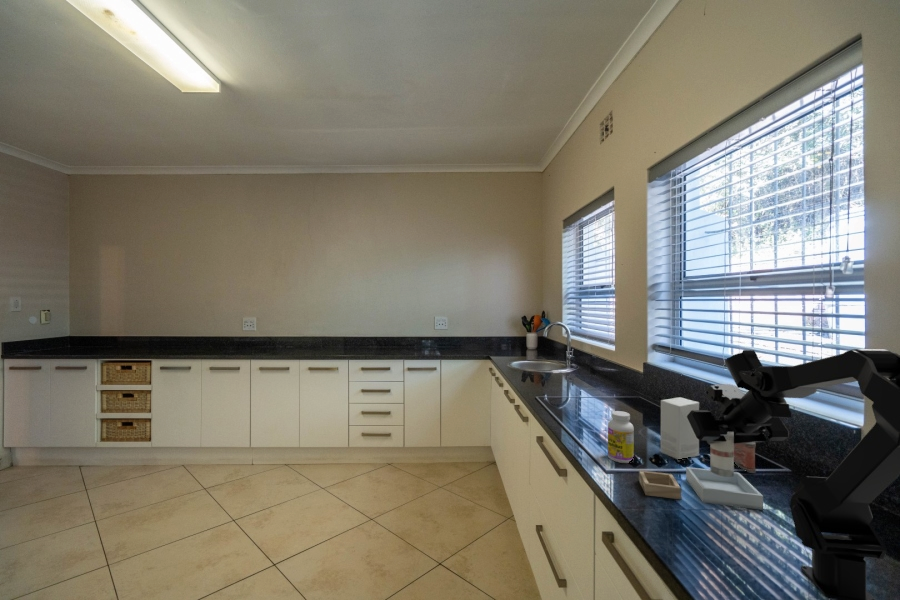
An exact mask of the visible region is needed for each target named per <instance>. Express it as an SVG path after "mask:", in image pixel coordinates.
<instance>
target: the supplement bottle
mask: <svg viewBox="0 0 900 600" xmlns="http://www.w3.org/2000/svg"><path fill="white" fill-rule="evenodd" d="M611 417H612V418H611V419H610V420H609V422H608V424H607V457H608V459H610V460H611V461H613V462H616V463H619V464H629V461H631V460H632V459H633V460H634V458H635V457H634V456H635V455H634V452H635V451H634V449H635V448H634V447H635V446H634V445H635V444H634V437H635V433H634V432H635V431H634V429H635V427H634V425H633V424H632V423H631V422H630V419H631V414H630V413H629V412H626V411H621V410H614V411H612V412H611ZM633 457H634V458H633Z"/></svg>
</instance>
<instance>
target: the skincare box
mask: <svg viewBox="0 0 900 600" xmlns="http://www.w3.org/2000/svg"><path fill="white" fill-rule="evenodd" d="M691 410H700V402H699V401H695V400H691V399H689V398H684V397H681V396H679V397H673V398H668V399H661V400H660V453H662V454H664V455H666V456H668V457H671V458H673V459H675V460H678V459H682V458H687V459H689V458H688V457H691V458H694V457H699V456H700V440H699V439H698V438H696V435H695V433H694V431H693V429H692V427H691V425H690V423H689V420H688V418H687V415H688V414H689V413H690V411H691ZM682 460H683V459H682Z"/></svg>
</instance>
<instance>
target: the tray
mask: <svg viewBox="0 0 900 600" xmlns="http://www.w3.org/2000/svg"><path fill="white" fill-rule="evenodd" d="M685 472H686V475H685V476H686V481H687V482H688V484H689V485H690V486H691V488H692V489H693V490H694V492H695V493H696V494H697V496H698V498H699V499H700V500H701V502H702V503H704V504H705V503H706V504H713V505H719V506H720V505H721V506H730V507H737V508H744V509H745V508H746V509H750V510H751V509H753V510H760V511H764V495H763V494H762V493H761V492H760V491H758V489H757V488H756V487H755V486H753V485H752V484H751V483H750V482H749V481H748V480H747V478H745V476H743V475H742V474H741V473H740V472H737V471H734V476H733V477H723V476H719V475H716V474H714V473H712V472H711V471H710V469H708V468H699V467H689V466H686V471H685Z"/></svg>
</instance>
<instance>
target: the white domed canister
mask: <svg viewBox="0 0 900 600" xmlns="http://www.w3.org/2000/svg"><path fill="white" fill-rule="evenodd" d="M724 437H725V439H726V442H719V443H714V444H709V445H710V450H709V451H710V455H709V456H710V458H709V459H710V460H709V461H710V462H709V463H710V469H709V470H710V471H711V472H712V473H714V474H716V475H719V476H723V477H733V476H734V472H735V464H734V432H727V434H726V435H724Z"/></svg>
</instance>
